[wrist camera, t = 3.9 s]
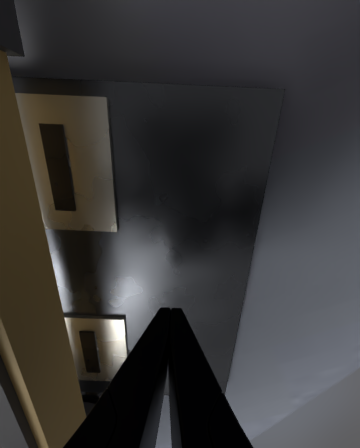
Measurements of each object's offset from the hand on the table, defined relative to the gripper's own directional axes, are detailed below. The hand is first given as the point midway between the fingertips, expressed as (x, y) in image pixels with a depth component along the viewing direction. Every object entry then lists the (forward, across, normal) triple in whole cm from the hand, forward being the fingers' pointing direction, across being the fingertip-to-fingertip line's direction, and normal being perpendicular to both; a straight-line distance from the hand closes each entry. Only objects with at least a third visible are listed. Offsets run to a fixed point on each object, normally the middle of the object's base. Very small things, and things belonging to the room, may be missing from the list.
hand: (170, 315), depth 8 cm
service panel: (+3, +5, +3) cm, 7 cm away
